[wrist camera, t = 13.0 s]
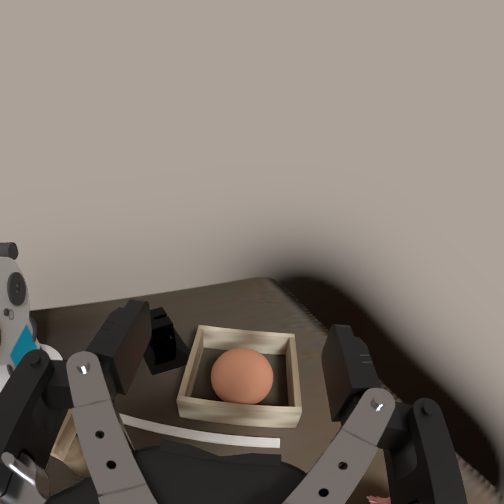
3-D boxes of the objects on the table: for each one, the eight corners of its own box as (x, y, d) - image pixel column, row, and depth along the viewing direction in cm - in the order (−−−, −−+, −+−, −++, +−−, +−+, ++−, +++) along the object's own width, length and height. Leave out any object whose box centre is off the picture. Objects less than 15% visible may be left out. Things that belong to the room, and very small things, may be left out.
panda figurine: (51, 426, 18) (-19, 304, 12) (-21, 405, 16) (-84, 293, 10) (75, 349, 29) (43, 237, 23) (11, 341, 26) (-25, 239, 20)
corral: (179, 416, 23) (176, 400, 22) (199, 343, 34) (199, 325, 32) (295, 427, 23) (302, 412, 22) (290, 352, 34) (294, 334, 32)
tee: (57, 473, 14) (7, 424, 10) (72, 439, 18) (33, 384, 14) (98, 492, 14) (53, 451, 10) (111, 454, 18) (77, 403, 14)
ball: (210, 405, 26) (203, 399, 22) (216, 353, 30) (212, 336, 25) (267, 410, 26) (274, 406, 21) (271, 358, 30) (278, 342, 25)
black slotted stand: (208, 369, 30) (207, 341, 29) (149, 390, 26) (141, 362, 25) (168, 312, 40) (165, 285, 38) (121, 324, 36) (115, 297, 34)
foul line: (95, 415, 21) (95, 413, 21) (99, 407, 22) (98, 406, 22) (279, 447, 21) (279, 446, 21) (279, 439, 22) (279, 438, 22)
